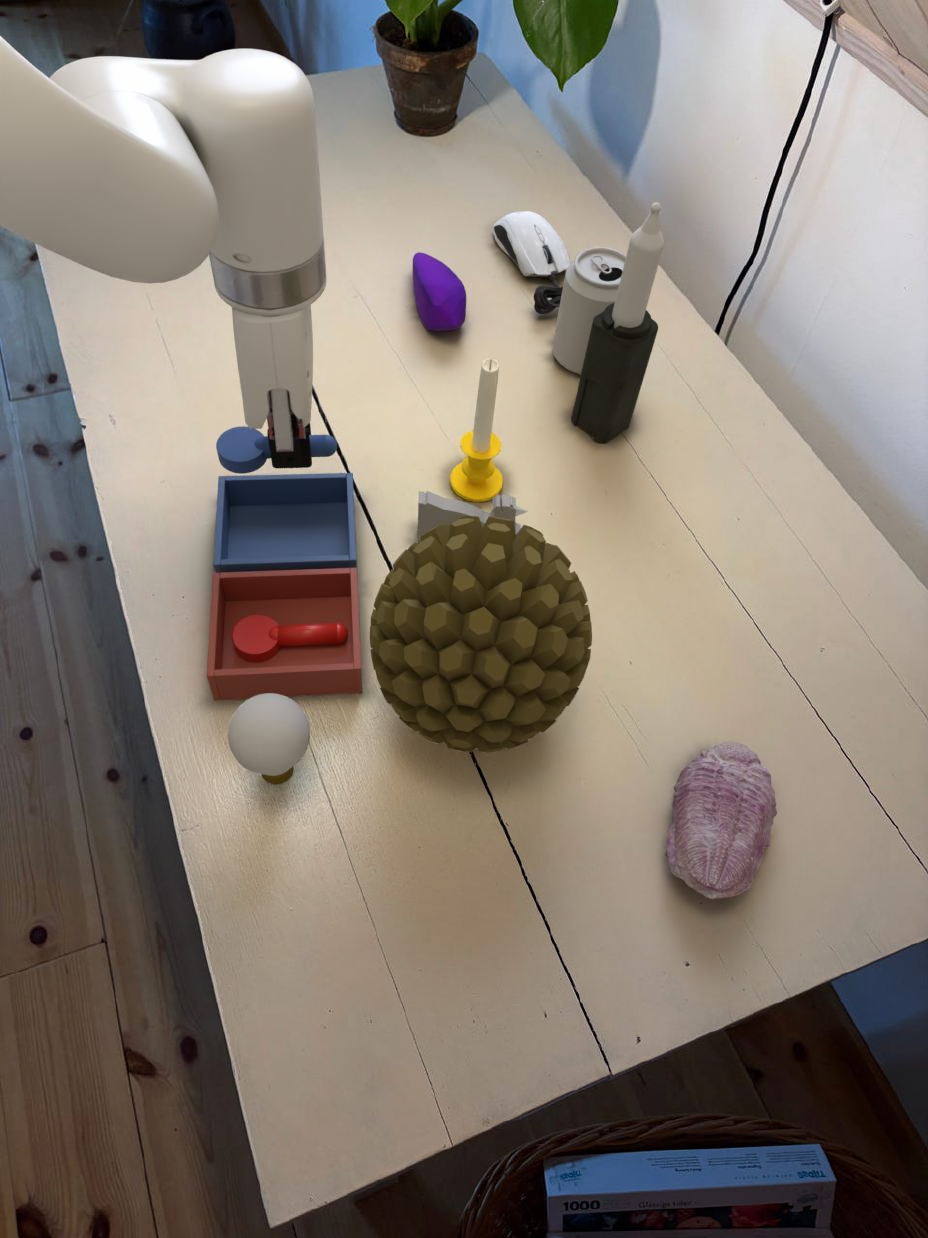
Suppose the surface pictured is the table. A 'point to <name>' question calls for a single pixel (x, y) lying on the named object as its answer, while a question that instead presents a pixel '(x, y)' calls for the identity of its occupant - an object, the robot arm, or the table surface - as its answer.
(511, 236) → the computer mouse
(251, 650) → the red ping pong paddle
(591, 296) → the can
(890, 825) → the table surface
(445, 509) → the grey flat angular piece
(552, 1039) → the table surface
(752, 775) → the fossil
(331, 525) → the blue bin
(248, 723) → the light bulb
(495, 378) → the candle
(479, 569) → the decorative object
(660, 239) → the candle
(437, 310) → the crystal
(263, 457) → the blue spoon
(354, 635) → the red bin
